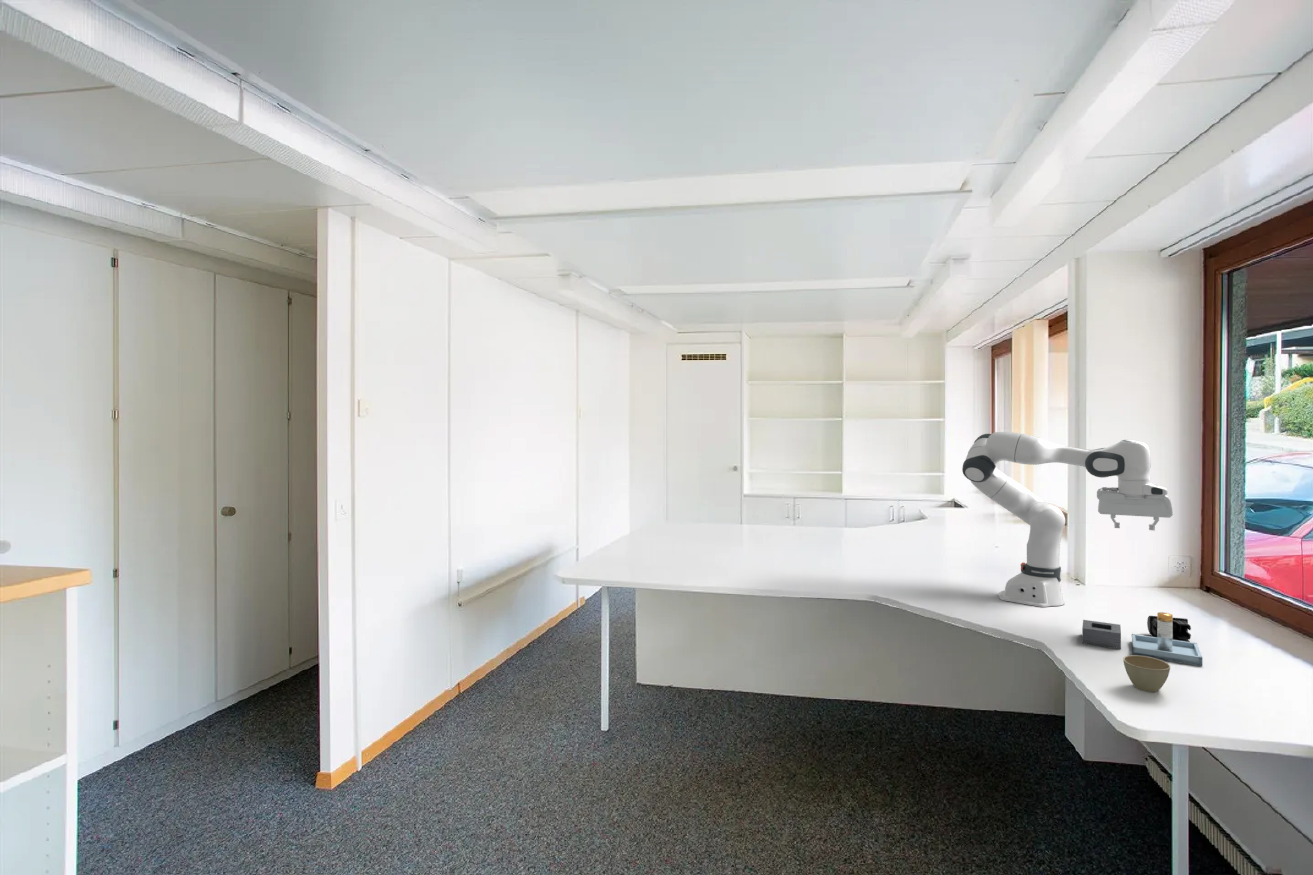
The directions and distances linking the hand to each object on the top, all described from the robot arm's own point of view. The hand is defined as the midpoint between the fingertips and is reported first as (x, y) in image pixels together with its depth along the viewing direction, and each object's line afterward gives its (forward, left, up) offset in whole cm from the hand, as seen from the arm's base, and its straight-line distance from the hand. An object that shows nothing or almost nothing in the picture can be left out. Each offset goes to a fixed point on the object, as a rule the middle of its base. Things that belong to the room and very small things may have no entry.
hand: (1134, 529), depth 217 cm
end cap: (+9, -5, -34) cm, 36 cm away
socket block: (-9, -20, -34) cm, 41 cm away
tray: (+7, -22, -34) cm, 41 cm away
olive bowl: (+1, -56, -34) cm, 66 cm away
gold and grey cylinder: (+7, -22, -33) cm, 40 cm away
